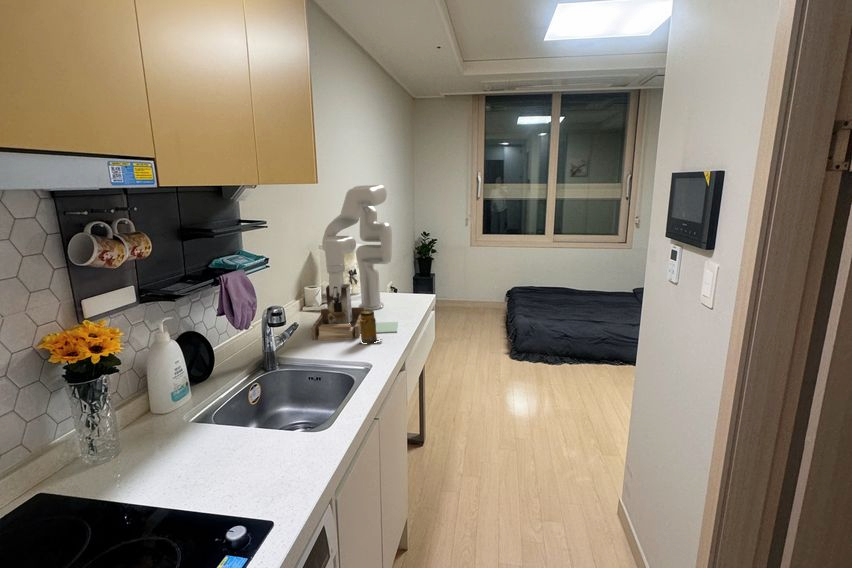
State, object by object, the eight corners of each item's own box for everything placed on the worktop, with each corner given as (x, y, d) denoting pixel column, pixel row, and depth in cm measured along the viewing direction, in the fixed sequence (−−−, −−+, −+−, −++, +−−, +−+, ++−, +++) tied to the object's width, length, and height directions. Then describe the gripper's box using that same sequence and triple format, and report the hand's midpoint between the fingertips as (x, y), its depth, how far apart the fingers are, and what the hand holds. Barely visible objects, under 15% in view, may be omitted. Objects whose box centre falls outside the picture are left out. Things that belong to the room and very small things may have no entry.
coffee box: (328, 324, 187) (324, 287, 183) (332, 319, 193) (329, 283, 189) (349, 324, 186) (346, 287, 182) (353, 319, 192) (350, 283, 188)
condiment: (362, 338, 177) (359, 309, 174) (383, 337, 177) (381, 309, 174) (359, 344, 170) (357, 315, 167) (381, 344, 170) (379, 314, 167)
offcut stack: (320, 336, 182) (319, 324, 180) (354, 335, 182) (353, 323, 180) (318, 340, 177) (317, 328, 176) (352, 339, 177) (352, 326, 176)
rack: (322, 323, 198) (321, 308, 196) (365, 321, 198) (363, 307, 197) (311, 340, 177) (310, 323, 175) (359, 338, 177) (358, 321, 176)
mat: (368, 324, 195) (368, 323, 195) (398, 322, 195) (397, 321, 195) (365, 333, 182) (365, 332, 182) (396, 332, 182) (396, 331, 182)
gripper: (330, 264, 192) (334, 303, 196) (322, 273, 175) (327, 315, 179) (347, 263, 192) (351, 303, 196) (341, 272, 175) (345, 315, 180)
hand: (339, 308), depth 188 cm, fingers closed on coffee box, 6 cm apart
